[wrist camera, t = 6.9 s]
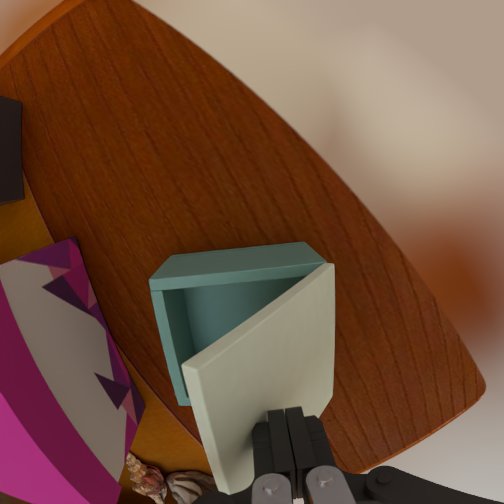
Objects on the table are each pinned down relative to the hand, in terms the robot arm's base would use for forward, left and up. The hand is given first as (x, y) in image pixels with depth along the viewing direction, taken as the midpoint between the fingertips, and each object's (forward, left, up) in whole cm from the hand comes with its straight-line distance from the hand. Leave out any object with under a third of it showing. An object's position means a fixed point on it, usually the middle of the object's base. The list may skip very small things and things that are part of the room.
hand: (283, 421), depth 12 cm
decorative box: (+3, -23, -14) cm, 28 cm away
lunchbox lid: (0, 0, -3) cm, 3 cm away
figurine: (+21, -18, -9) cm, 30 cm away
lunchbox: (0, -2, -14) cm, 14 cm away
